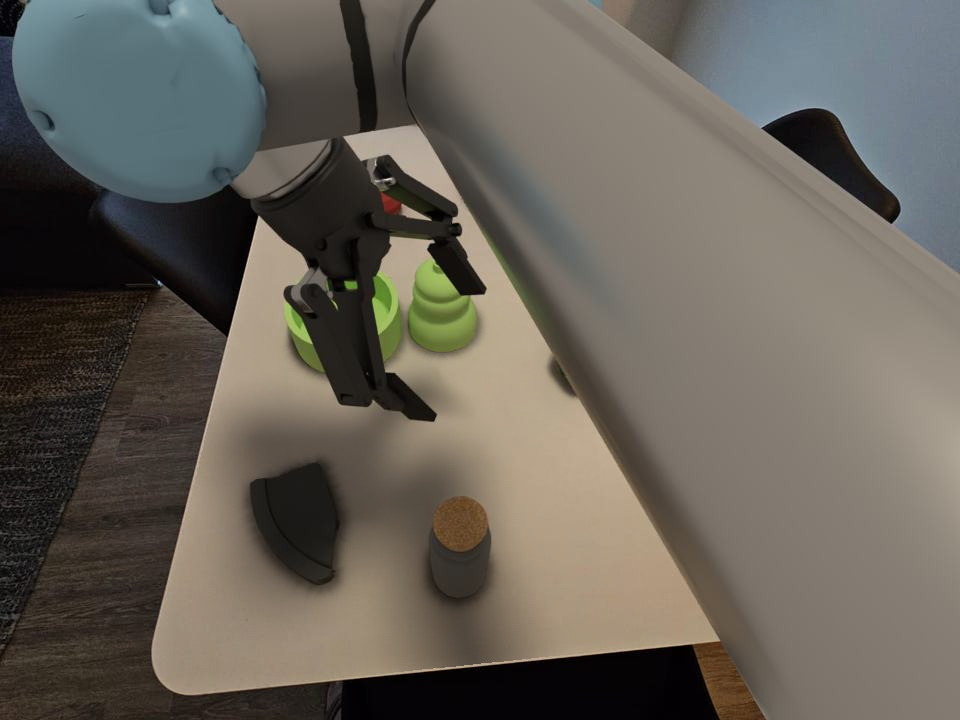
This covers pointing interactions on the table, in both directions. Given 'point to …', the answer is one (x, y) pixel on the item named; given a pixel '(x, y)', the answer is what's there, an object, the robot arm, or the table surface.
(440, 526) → the bottle
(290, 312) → the green rounded pieces
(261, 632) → the table surface
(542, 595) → the table surface
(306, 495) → the fan shaped piece
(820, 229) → the robot arm
